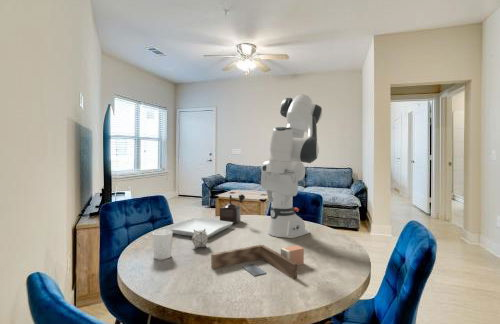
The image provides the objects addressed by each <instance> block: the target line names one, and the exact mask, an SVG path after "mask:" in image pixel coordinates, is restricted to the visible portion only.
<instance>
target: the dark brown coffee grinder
mask: <svg viewBox="0 0 500 324" xmlns="http://www.w3.org/2000/svg"><path fill="white" fill-rule="evenodd" d="M245 198H246V196H245V194H239V195H238V199H236V198H232V194H230V195H229V203H228V204H225V205H223V206H221V207H219V220H220V221H227V222H233V223H232V225H237V224H239V223H240V222H241V205H236V204H233V203H232V201H234V202H239V203H240V204H241V203H244V200H245Z"/></svg>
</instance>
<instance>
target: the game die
mask: <svg viewBox="0 0 500 324" xmlns="http://www.w3.org/2000/svg"><path fill="white" fill-rule="evenodd" d="M205 230H206V229H204V230H201V231H195V230H194V231H195V232H194V234H193V236H191V238H190V239H189V240H190V241H191V242H192V243H193V245H194V248H193V249H194V250H195V249H197V248H205V249H207V243H208V241H209V239H210V238H211V237H212V236H210V237H208V235H207V234H206V232H205Z"/></svg>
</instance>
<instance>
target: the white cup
mask: <svg viewBox="0 0 500 324" xmlns="http://www.w3.org/2000/svg"><path fill="white" fill-rule="evenodd" d="M151 233H152V249H153V258H154V259H155V260H166V259H168V258H169V259H170V258H171V257H172V249H173V236H174V235H173V234H174V233H173V231H171V230H165V229H157V230H154V231H153V232H151Z"/></svg>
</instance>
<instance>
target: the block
mask: <svg viewBox="0 0 500 324" xmlns="http://www.w3.org/2000/svg"><path fill="white" fill-rule="evenodd" d="M304 249H305V248H304V247H302V246H301V245H298V244H296V245H292V246H291V245H290V246H287V247H281V248H280V254H281V255H283V256H284V257H286V258H288V259H290V260H292V261H293V262H295V263H297V264H298V266H299V265H303V264H304V257H305V253H304V252H305V250H304Z"/></svg>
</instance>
